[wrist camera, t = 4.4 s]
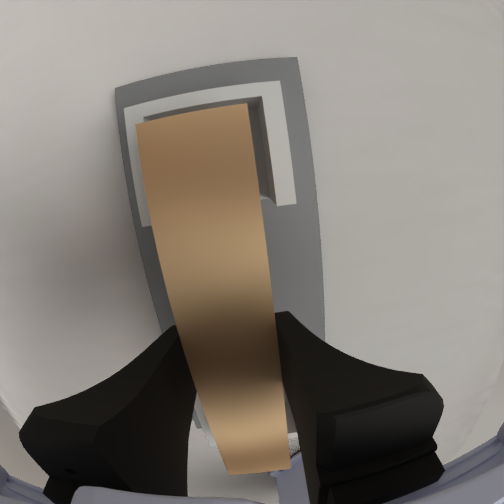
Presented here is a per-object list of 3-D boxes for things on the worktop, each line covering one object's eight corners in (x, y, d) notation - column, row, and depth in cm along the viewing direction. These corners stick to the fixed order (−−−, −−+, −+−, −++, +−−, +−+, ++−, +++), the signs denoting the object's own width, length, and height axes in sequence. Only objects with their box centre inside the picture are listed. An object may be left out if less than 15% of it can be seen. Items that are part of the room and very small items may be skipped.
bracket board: (322, 404, 21) (336, 448, 17) (198, 419, 21) (192, 465, 17) (293, 62, 14) (313, 29, 10) (121, 91, 14) (84, 71, 10)
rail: (282, 416, 16) (291, 468, 12) (229, 422, 16) (229, 474, 12) (244, 121, 11) (247, 103, 8) (166, 134, 11) (135, 124, 8)
